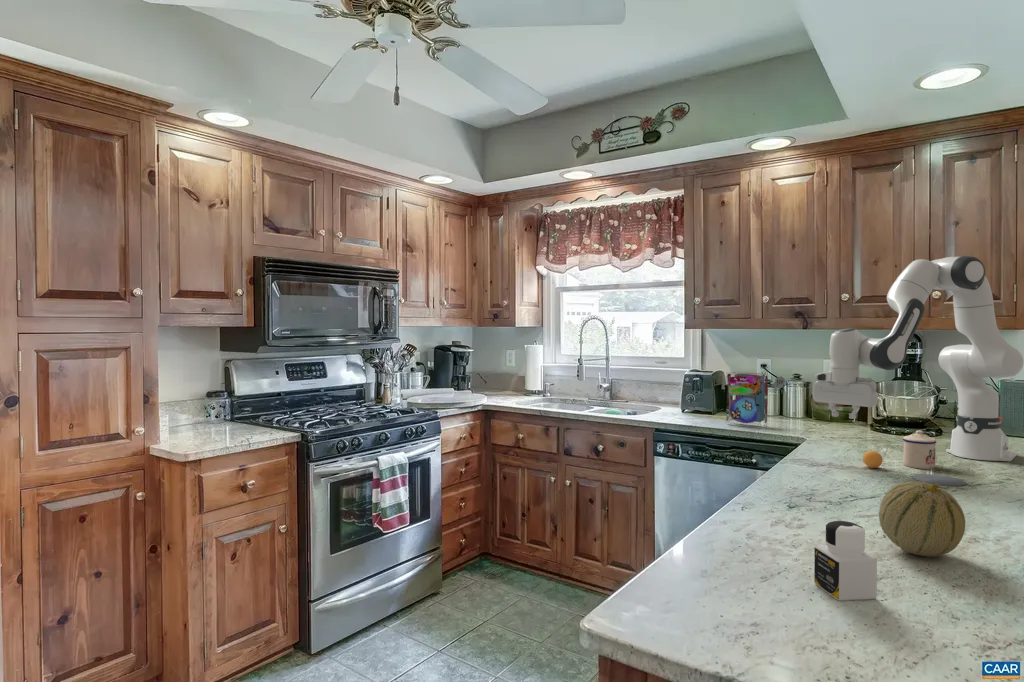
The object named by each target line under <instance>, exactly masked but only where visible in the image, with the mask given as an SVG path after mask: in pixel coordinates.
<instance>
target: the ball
mask: <svg viewBox="0 0 1024 682" xmlns="http://www.w3.org/2000/svg"><path fill="white" fill-rule="evenodd" d="M862 462H863V463H864V465H865V466H866V467H868V468H870V469H876V468H879V467H880V466H881V465H882V464H883V457H882V454H881V453H879V452H878V451H876V450H868V451H866V452H865V453H864V454H863V456H862Z"/></svg>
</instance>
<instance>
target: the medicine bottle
mask: <svg viewBox="0 0 1024 682" xmlns="http://www.w3.org/2000/svg"><path fill="white" fill-rule="evenodd" d="M865 540H866V530H865V529H864V528H863V527H862V526H861V525H858V524H857V523H854V522H851V521H847V520H846V521H845V520H833V521H830V522H827V524H825V544H821V545H819V544H818V545H815V546H814V566H813V568H814V570H813V571H814V573H813V576H814V578H813V579H814V585H816V586H818V587H819V588H820V589H821V590H823V591H825V592H826V593H827V594H829V595H830V596H831V597H833V598H834V599H835V600H836V601H838V602H842V601H844V602H845V601H846V602H847V601H861V600H863V601H864V600H876V599H877V598H878V597H877V595H878V591H877V589H878V587H877V586H878V577H877V576H878V559H877V558H876V557H875V556H873V555H871V554H869V553H868V552H865V551H866V550H865V549H866V547H865V546H866V544H865V542H866V541H865Z"/></svg>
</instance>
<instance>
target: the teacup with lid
mask: <svg viewBox="0 0 1024 682" xmlns="http://www.w3.org/2000/svg"><path fill="white" fill-rule="evenodd" d="M902 440H903V456H902V457H903V461H902V462H903V465H904V466H905V467H909V468H913V469H919V470H920V469H921V470H933V469H935V468H936V444H937V440H936V439H935V438H933V437H930V436H929V435H927V434H924V431H923V430H920V429H919V430H916V431H915V433H912V434H910V435H909V434H908V435H905V436H903V437H902Z"/></svg>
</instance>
